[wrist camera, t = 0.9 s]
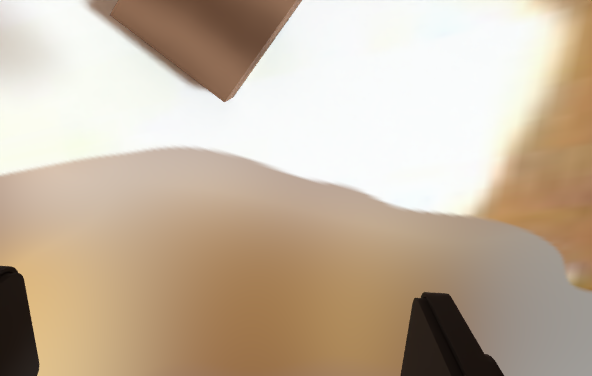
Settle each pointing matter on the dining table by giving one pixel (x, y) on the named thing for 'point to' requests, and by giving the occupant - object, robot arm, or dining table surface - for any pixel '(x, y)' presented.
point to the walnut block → (208, 35)
